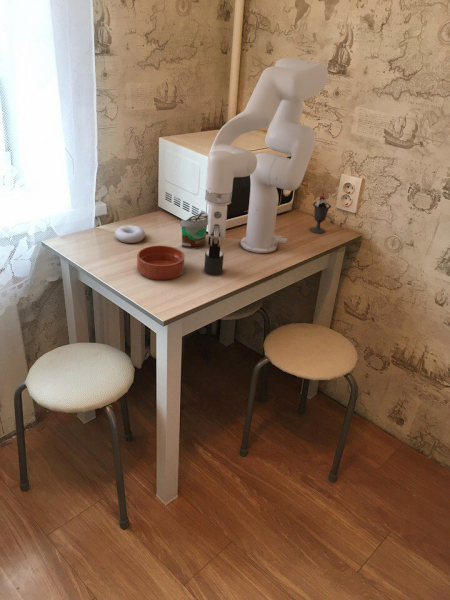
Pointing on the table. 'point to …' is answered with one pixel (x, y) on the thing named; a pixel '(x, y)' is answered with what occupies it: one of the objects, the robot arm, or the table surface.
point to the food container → (194, 230)
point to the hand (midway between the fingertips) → (213, 251)
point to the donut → (130, 234)
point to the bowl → (160, 262)
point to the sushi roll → (213, 264)
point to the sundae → (320, 213)
